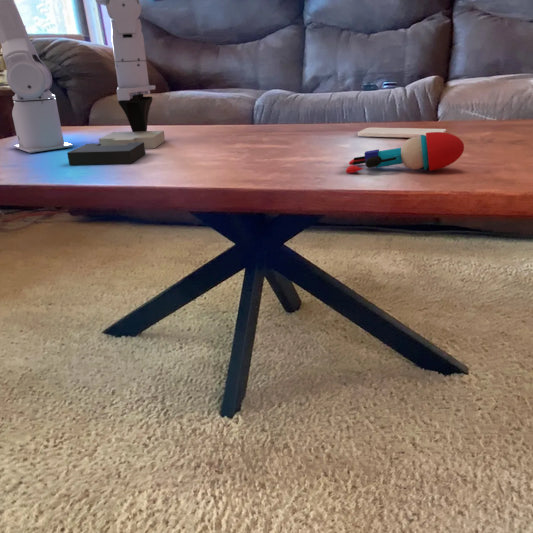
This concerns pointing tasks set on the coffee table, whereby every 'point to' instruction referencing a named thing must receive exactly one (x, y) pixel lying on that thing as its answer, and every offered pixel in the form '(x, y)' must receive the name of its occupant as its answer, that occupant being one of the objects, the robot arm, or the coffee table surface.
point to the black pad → (106, 154)
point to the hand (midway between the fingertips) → (140, 135)
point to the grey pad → (134, 138)
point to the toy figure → (415, 153)
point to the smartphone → (397, 132)
